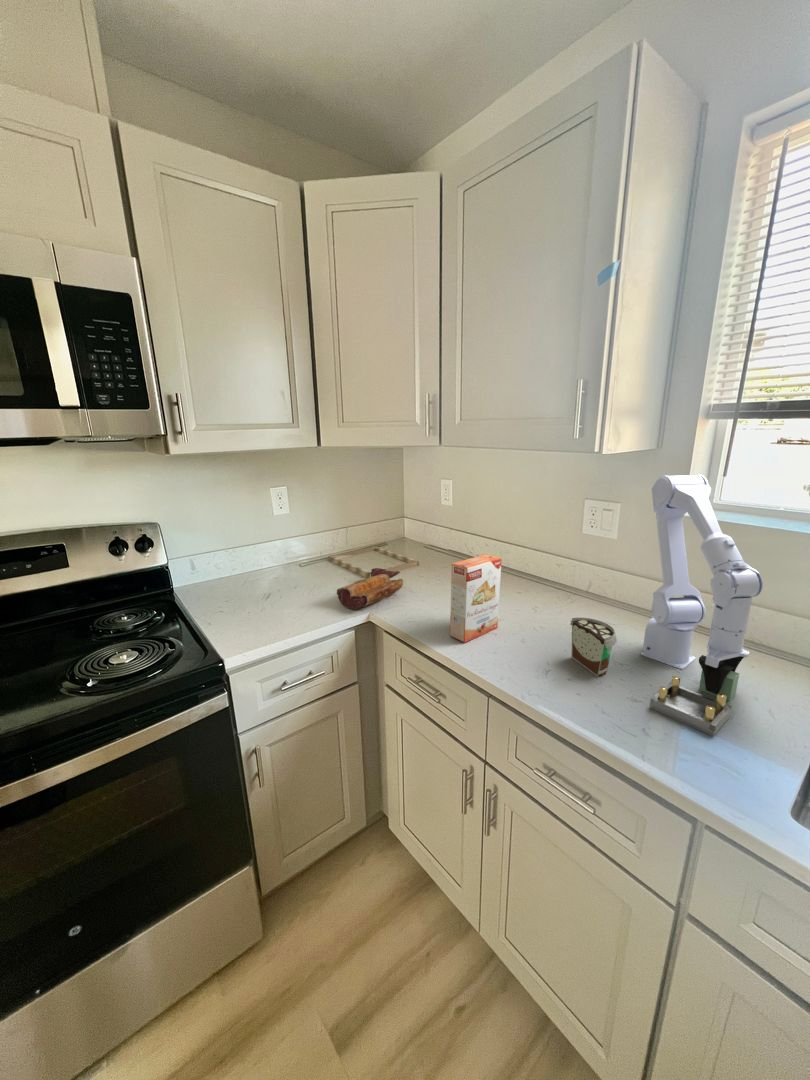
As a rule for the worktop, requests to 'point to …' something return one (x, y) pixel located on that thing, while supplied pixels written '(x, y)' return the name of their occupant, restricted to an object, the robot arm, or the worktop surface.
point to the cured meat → (369, 589)
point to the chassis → (691, 707)
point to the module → (724, 685)
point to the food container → (592, 644)
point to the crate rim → (363, 572)
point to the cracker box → (475, 597)
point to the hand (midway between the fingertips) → (718, 686)
